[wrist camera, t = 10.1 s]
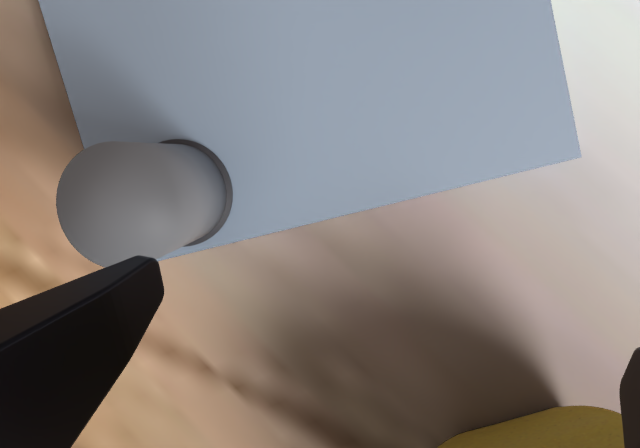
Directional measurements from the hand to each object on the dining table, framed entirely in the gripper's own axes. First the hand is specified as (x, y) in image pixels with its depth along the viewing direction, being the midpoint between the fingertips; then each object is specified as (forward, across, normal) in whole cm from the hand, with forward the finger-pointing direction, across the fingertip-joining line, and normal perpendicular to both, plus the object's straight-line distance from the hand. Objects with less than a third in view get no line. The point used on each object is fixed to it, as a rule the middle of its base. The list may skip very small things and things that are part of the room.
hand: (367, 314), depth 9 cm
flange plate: (+13, +6, -2) cm, 14 cm away
